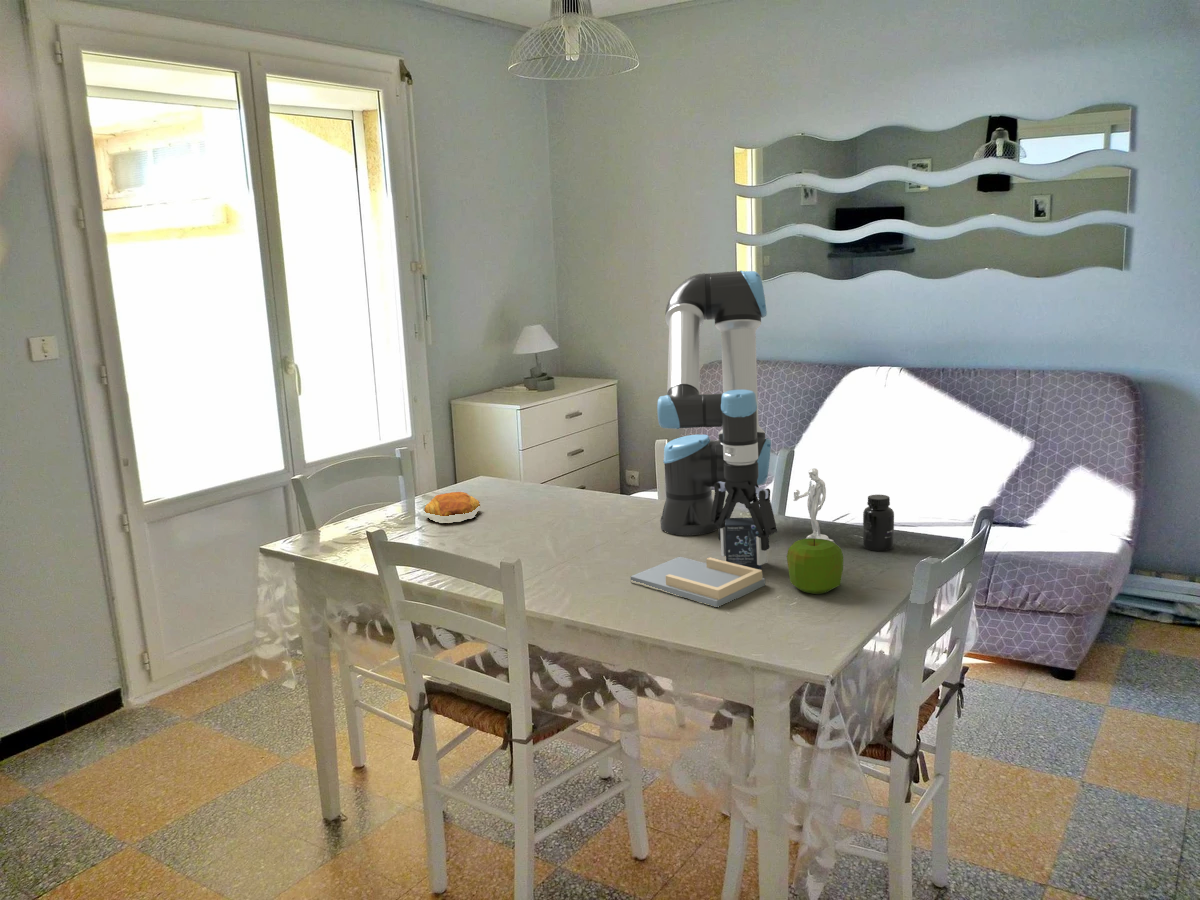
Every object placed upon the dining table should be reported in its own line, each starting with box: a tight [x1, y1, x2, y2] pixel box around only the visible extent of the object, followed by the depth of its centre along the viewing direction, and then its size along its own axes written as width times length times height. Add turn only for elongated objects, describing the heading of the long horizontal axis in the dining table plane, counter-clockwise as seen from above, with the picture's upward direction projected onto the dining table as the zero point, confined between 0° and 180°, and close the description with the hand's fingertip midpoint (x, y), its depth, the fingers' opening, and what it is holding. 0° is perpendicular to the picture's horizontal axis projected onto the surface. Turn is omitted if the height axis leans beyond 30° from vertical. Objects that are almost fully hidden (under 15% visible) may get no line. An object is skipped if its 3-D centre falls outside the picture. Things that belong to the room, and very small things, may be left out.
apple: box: [786, 538, 844, 595], centre depth 196 cm, size 11×11×11 cm
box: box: [725, 517, 763, 570], centre depth 212 cm, size 8×6×11 cm
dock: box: [630, 556, 766, 608], centre depth 203 cm, size 24×16×4 cm, turn 44°
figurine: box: [792, 468, 836, 544], centre depth 224 cm, size 8×7×18 cm
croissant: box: [423, 491, 481, 516], centre depth 266 cm, size 14×16×8 cm
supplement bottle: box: [862, 494, 895, 552], centre depth 218 cm, size 7×7×12 cm
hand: (743, 558), depth 213 cm, fingers closed on box, 9 cm apart
